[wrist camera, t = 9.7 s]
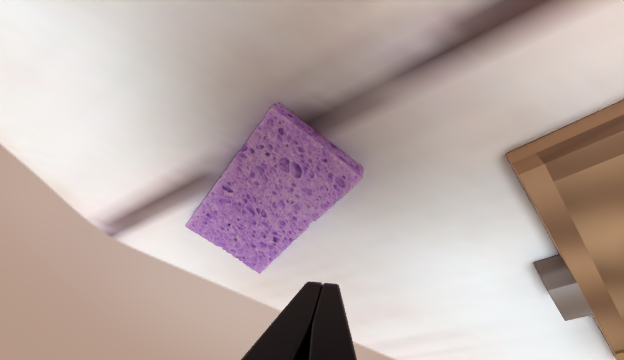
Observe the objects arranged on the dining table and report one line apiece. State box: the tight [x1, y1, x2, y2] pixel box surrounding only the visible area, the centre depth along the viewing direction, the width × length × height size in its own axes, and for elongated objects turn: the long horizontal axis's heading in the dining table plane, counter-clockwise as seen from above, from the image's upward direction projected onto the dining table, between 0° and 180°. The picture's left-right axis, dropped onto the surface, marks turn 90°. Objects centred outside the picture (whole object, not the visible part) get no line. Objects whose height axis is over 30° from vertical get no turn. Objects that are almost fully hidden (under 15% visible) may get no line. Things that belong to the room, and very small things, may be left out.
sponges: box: [186, 103, 363, 274], centre depth 24 cm, size 7×13×2 cm, turn 143°
